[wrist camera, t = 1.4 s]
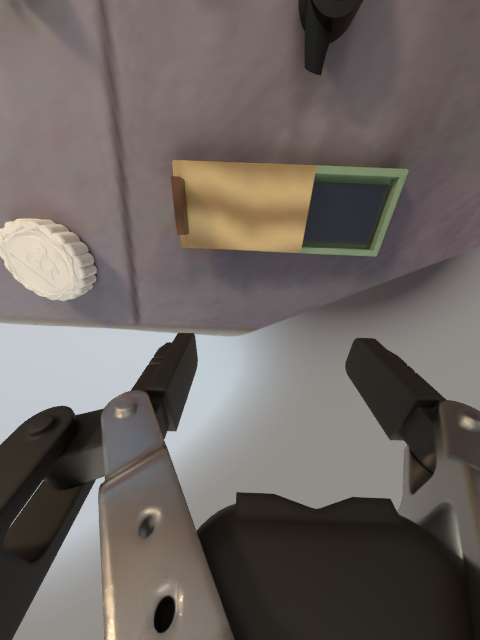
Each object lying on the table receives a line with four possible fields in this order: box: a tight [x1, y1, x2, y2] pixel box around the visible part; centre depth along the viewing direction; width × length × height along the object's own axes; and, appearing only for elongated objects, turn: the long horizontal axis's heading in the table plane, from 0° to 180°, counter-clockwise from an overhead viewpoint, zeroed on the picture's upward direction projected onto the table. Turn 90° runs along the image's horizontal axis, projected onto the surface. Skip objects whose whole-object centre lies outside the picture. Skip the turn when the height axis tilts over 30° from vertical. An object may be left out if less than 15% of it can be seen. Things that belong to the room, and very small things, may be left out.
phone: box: [303, 182, 389, 244], centre depth 26 cm, size 7×15×1 cm, turn 88°
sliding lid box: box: [261, 163, 409, 256], centre depth 26 cm, size 10×17×2 cm, turn 88°
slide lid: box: [171, 160, 317, 253], centre depth 23 cm, size 10×17×3 cm, turn 88°
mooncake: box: [0, 219, 97, 301], centre depth 29 cm, size 12×12×4 cm
